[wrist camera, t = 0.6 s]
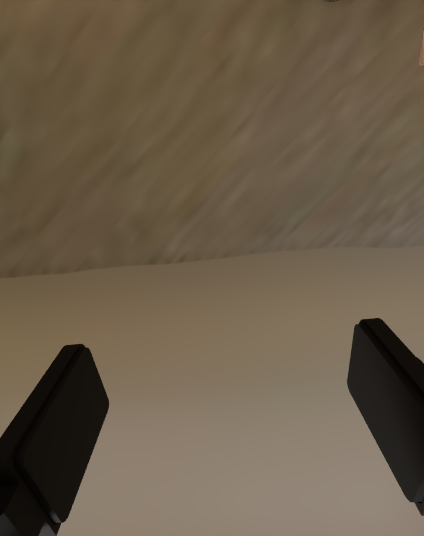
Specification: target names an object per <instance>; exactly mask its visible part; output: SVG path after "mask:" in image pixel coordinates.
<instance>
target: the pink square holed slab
mask: <svg viewBox="0 0 424 536" xmlns="http://www.w3.org/2000/svg"><path fill="white" fill-rule="evenodd" d="M421 65H424V32H423V38H422V45H421V52H420V59H419V65H418V66H421Z"/></svg>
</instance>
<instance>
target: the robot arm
mask: <svg viewBox="0 0 424 536" xmlns="http://www.w3.org/2000/svg"><path fill="white" fill-rule="evenodd" d="M347 384H348V389H349V391H350V393H351V395H352V397H353V399H354V401H355V403H356V404H357V407H358V408H359V410H360V412H361V414H362V416H363V418H364V420H365V422H366V424H367V425H368V427H369V429H370V431H371V433H372V435H373V437H374V439H375V440H376V442H377V444H378V446H379V448H380V450H381V451H382V454H383V455H384V457H385V459H386V461H387V463H388V464H389V467H390V469H391V470H392V472H393V474H394V476H395V478H396V480H397V482H398V484H399V486H400V487H401V489H402V491H403V493H404V495H405V496H406V498H407V499H408V500H409V501H410V502H414V503H415V504H416V506H417V508H418V510H419V512H420V514H421V515H422V516H424V363H423V362H422V361H421V360H420V359H418V358H417V357H415V356H414V355H413V353H412V352H411V351H410V350H409V349H408V348H407V347H406V346H405V345H404V343H403V342H402V341H401V340H400V339H399V338H398V337H397V336H396V335H395V334H394V332H393V331H392V330H391V329H390V328H389V327H388V326H387V325H386V324H385V323H384V321H383V320H381V319H379V318H374V319H363V320H361V321H360V322H359V324H356V325H355V328H354V334H353V342H352V350H351V357H350V364H349V372H348V379H347ZM108 408H109V400H108V397H107V394H106V391H105V389H104V387H103V383H102V381H101V378H100V376H99V373H98V370H97V368H96V365H95V362H94V360H93V357H92V354H91V352H90V350H89V348H85V346H84V345H83V344H75V345H66V346H64V347H63V348H62V349H61V351H60V352H59V354H58V355H57V357H56V358H55V360H54V361H53V362H52V364H51V365H50V367H49V368H48V370H47V371H46V373H45V374H44V375H43V377H42V378H41V380H40V381H39V383H38V384H37V386H36V387H35V389H34V390H33V391H32V393H31V394H30V396H29V397H28V399H27V400H26V401H25V403H24V404H23V406H22V407H21V409H20V410H19V412H18V413H17V415H16V416H15V417H14V419H13V420H12V422H11V423H10V425H9V426H8V428H7V429H6V430H5V432H4V433H3V435H2V436H1V438H0V536H56V535H57V533H58V530H59V528H60V525H61V523H62V522H65V521H66V519H67V518H68V516H69V513H70V511H71V508H72V505H73V503H74V500H75V497H76V495H77V492H78V489H79V486H80V484H81V481H82V479H83V476H84V473H85V470H86V468H87V465H88V463H89V460H90V457H91V455H92V452H93V449H94V446H95V444H96V441H97V438H98V436H99V433H100V430H101V428H102V425H103V422H104V419H105V417H106V414H107V412H108Z"/></svg>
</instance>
